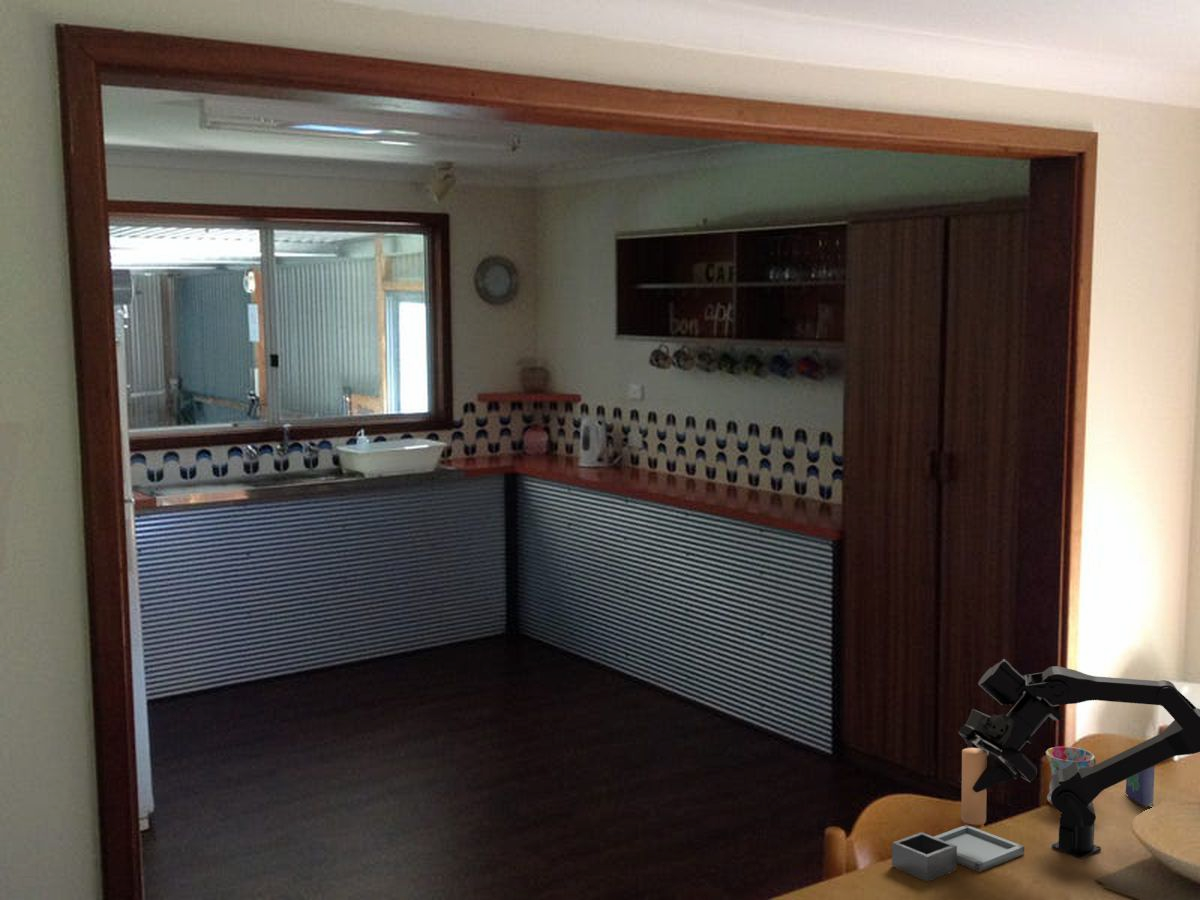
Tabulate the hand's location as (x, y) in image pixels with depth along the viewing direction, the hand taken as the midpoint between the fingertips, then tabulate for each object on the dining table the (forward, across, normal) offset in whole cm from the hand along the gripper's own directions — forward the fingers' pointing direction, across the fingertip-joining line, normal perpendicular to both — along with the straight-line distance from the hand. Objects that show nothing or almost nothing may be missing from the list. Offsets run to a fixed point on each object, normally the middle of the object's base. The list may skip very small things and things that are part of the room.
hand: (967, 786), depth 237 cm
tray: (+8, 0, +10) cm, 13 cm away
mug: (-15, -16, +33) cm, 40 cm away
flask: (-24, -14, +43) cm, 51 cm away
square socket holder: (+17, +4, +1) cm, 17 cm away
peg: (+4, 0, +6) cm, 7 cm away
